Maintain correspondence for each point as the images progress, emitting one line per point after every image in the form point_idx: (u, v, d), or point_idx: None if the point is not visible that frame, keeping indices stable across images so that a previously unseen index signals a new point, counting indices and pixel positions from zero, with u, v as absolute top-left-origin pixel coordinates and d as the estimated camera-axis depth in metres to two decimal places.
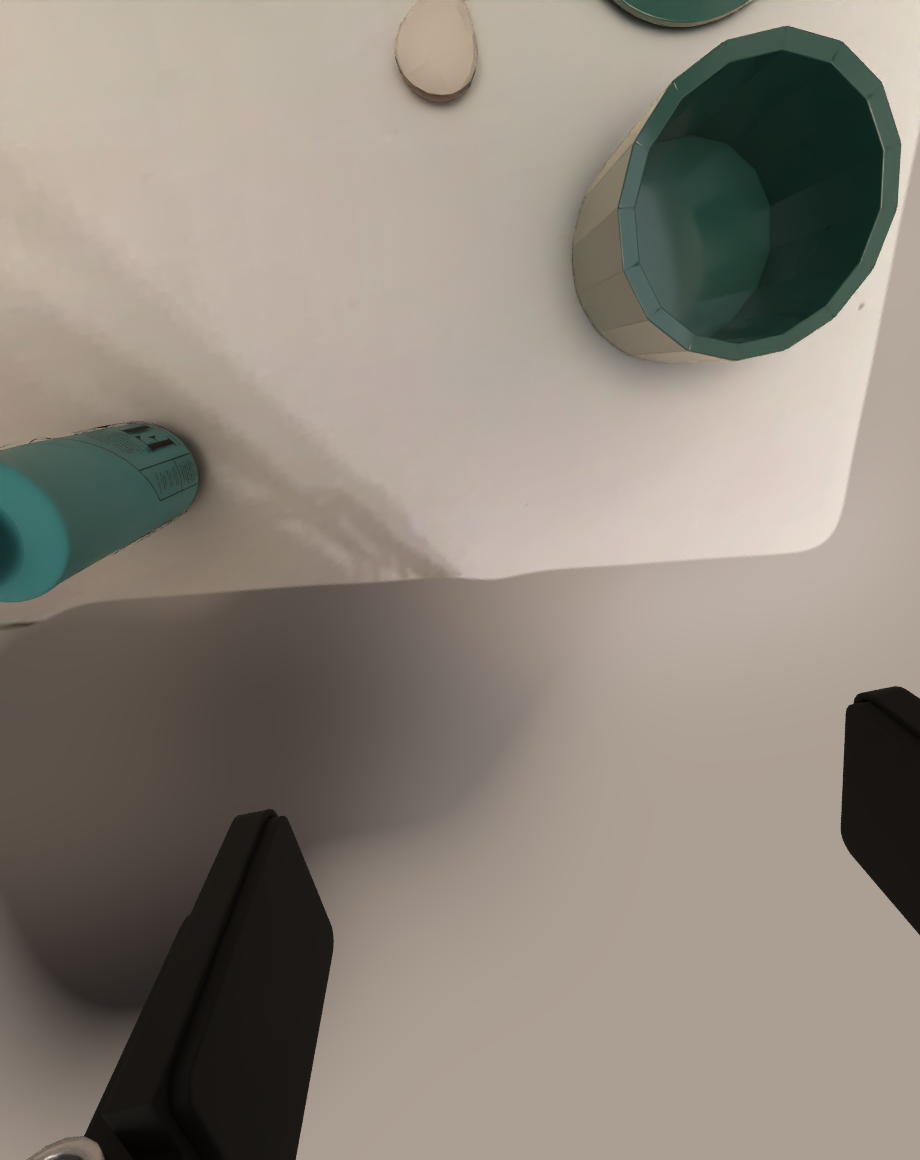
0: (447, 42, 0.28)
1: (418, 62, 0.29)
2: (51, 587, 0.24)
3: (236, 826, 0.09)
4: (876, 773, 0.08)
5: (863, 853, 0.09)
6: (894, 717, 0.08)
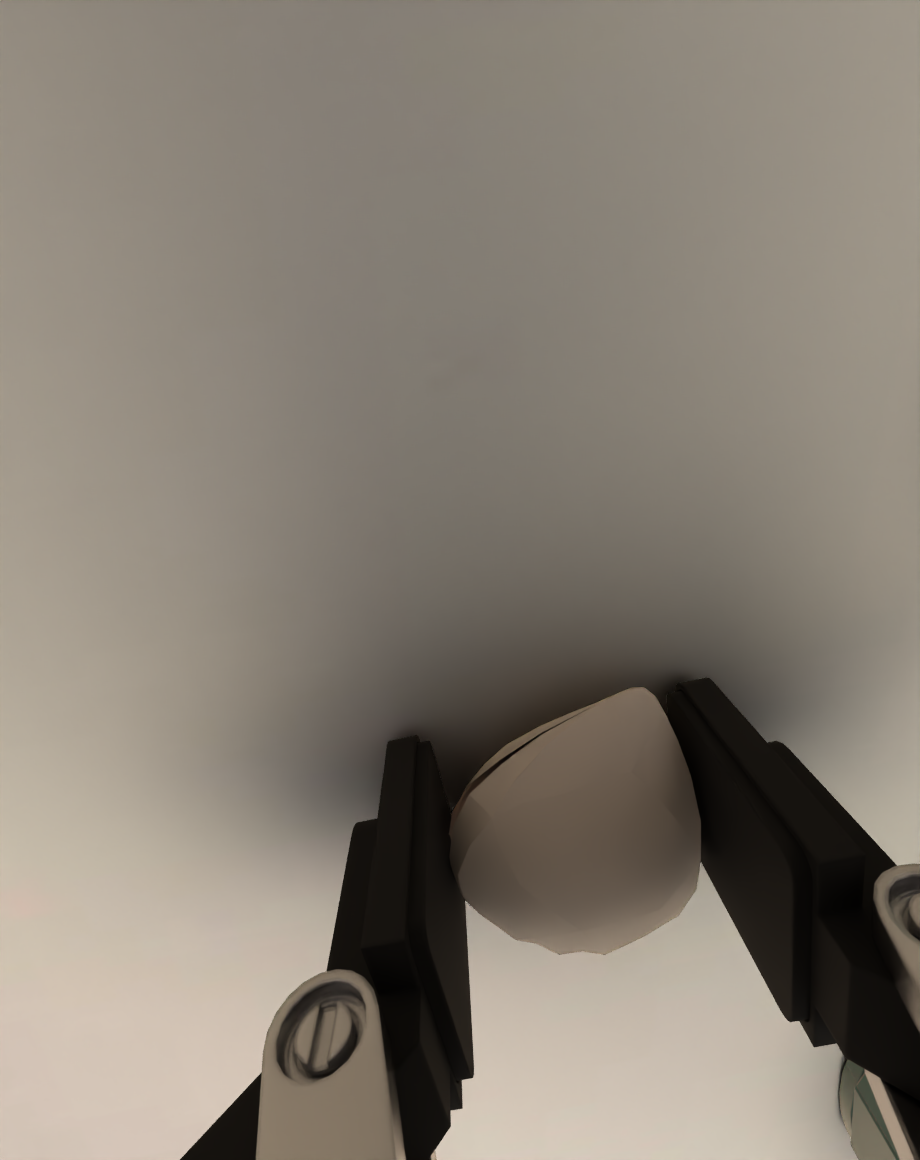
0: (628, 900, 0.09)
1: (527, 932, 0.09)
2: None
3: (393, 748, 0.10)
4: (684, 753, 0.09)
5: None
6: (696, 704, 0.09)
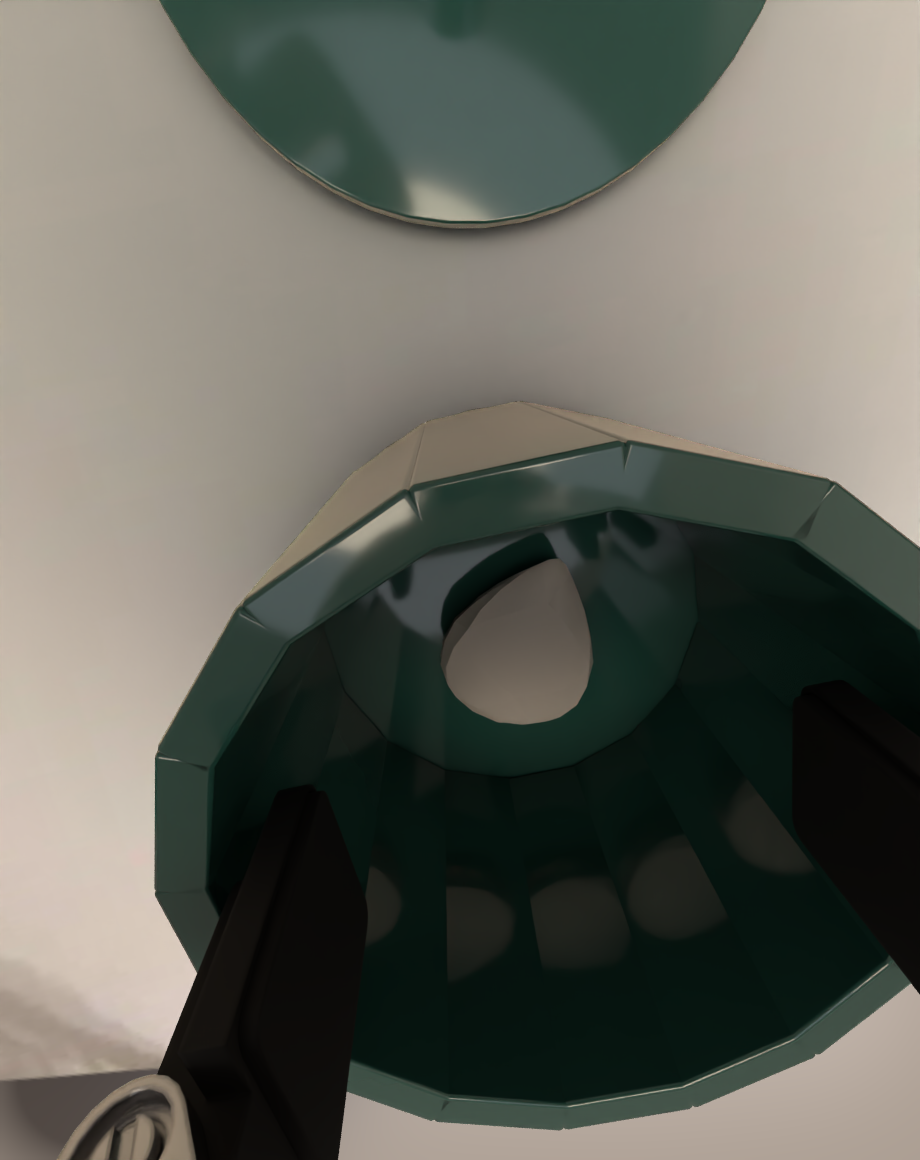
0: (543, 680, 0.15)
1: (485, 702, 0.15)
2: None
3: (279, 799, 0.09)
4: (819, 762, 0.09)
5: (811, 839, 0.09)
6: (835, 709, 0.08)
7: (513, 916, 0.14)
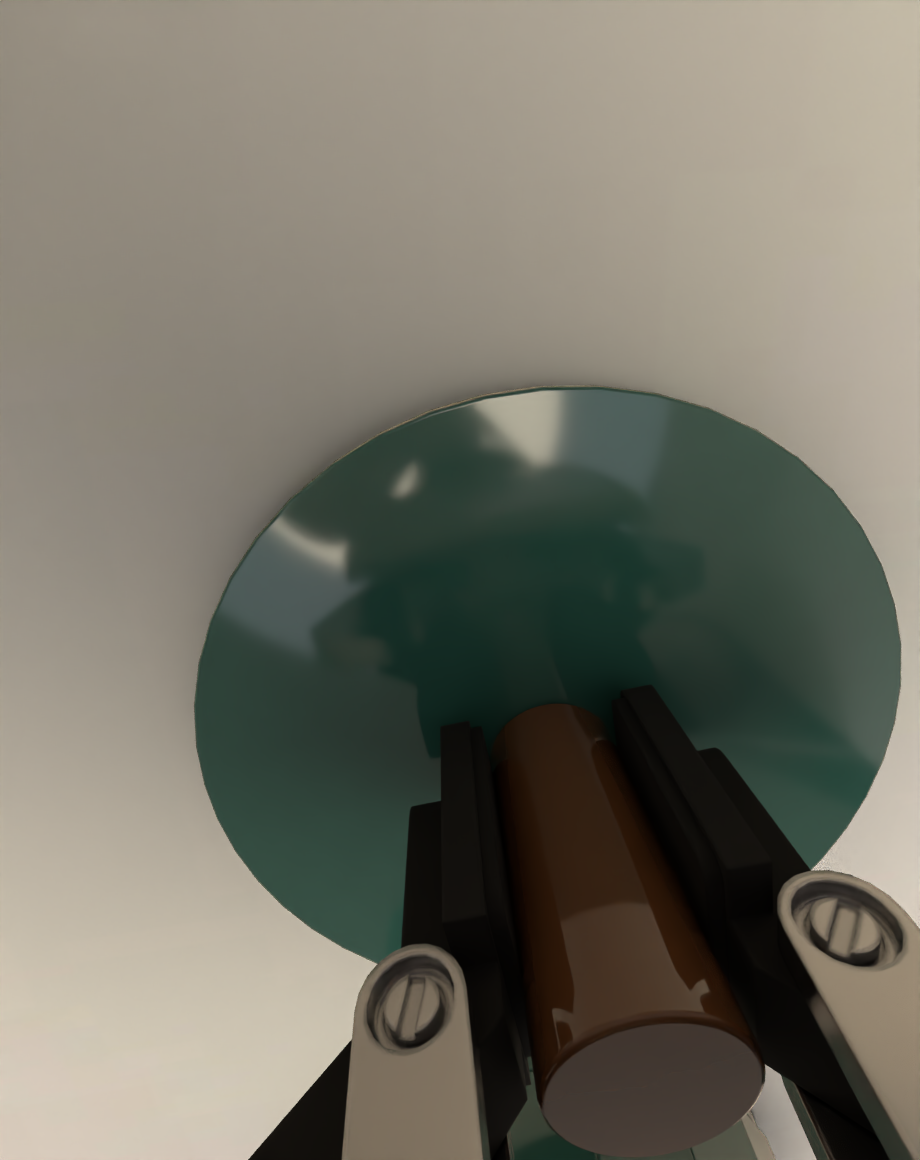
0: None
1: None
2: None
3: (446, 732, 0.10)
4: (627, 759, 0.10)
5: None
6: (638, 711, 0.09)
7: None
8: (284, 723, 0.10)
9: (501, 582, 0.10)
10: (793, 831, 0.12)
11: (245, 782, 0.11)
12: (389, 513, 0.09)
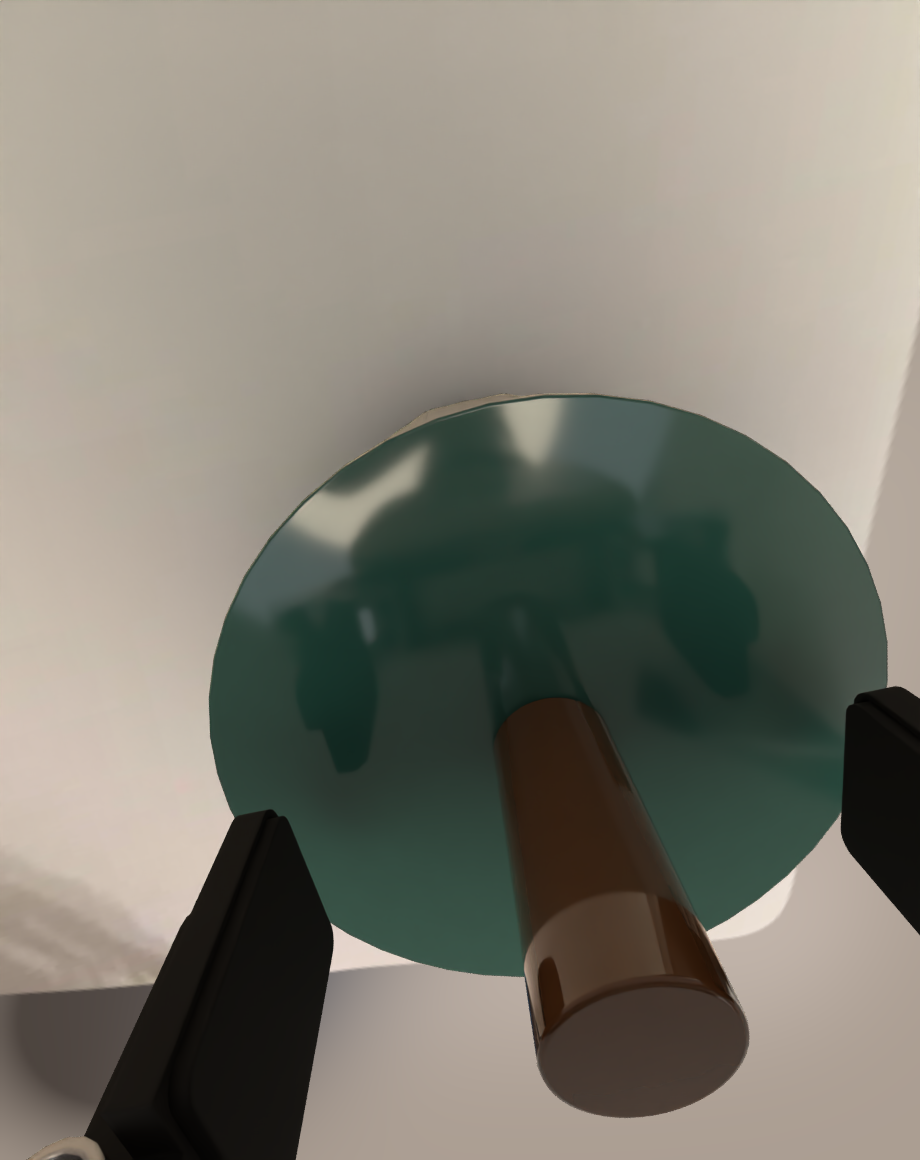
0: None
1: None
2: None
3: (236, 826, 0.09)
4: (876, 773, 0.08)
5: (863, 853, 0.09)
6: (895, 718, 0.08)
7: None
8: (295, 716, 0.11)
9: (503, 581, 0.10)
10: (784, 822, 0.12)
11: (257, 772, 0.11)
12: (397, 514, 0.10)
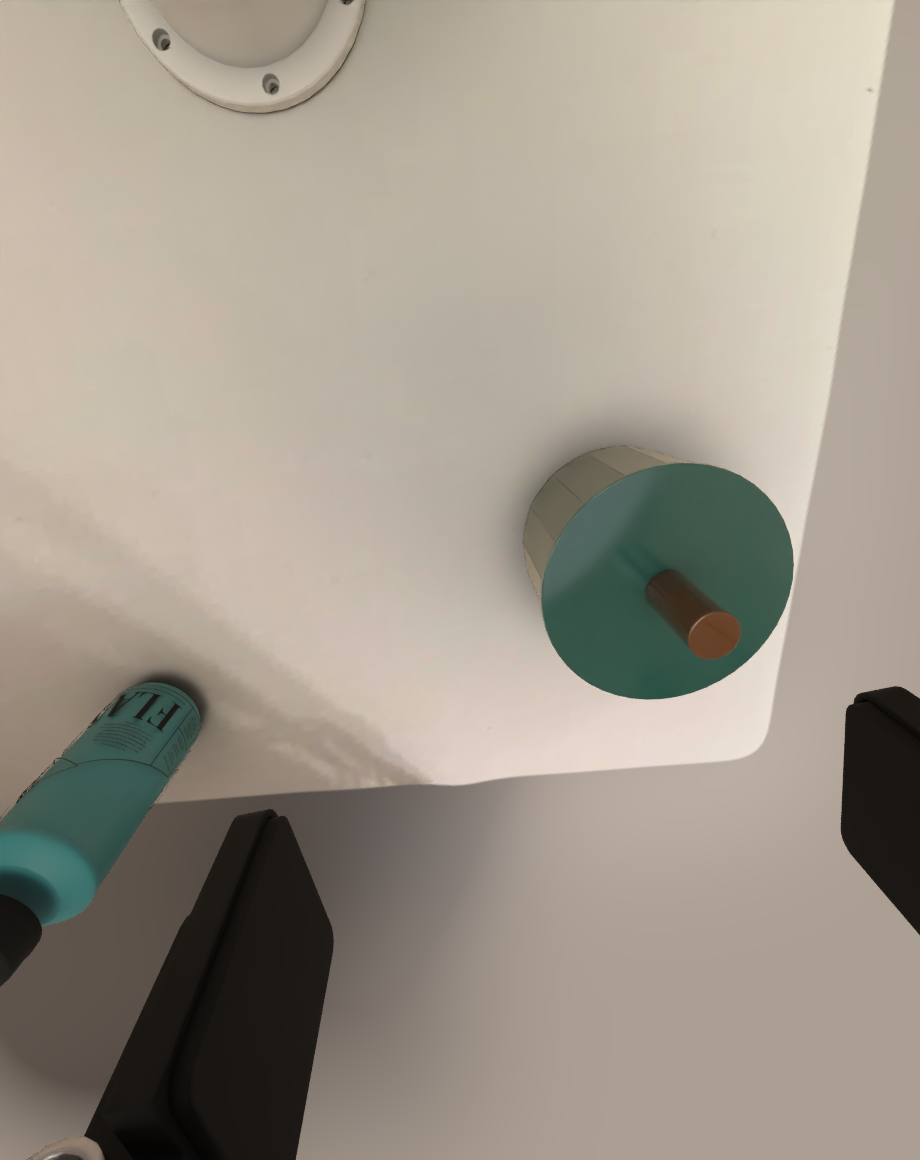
0: None
1: None
2: None
3: (236, 826, 0.09)
4: (876, 773, 0.08)
5: (863, 853, 0.09)
6: (895, 718, 0.08)
7: None
8: (575, 577, 0.30)
9: (656, 525, 0.29)
10: (756, 625, 0.31)
11: (556, 600, 0.30)
12: (622, 502, 0.28)
